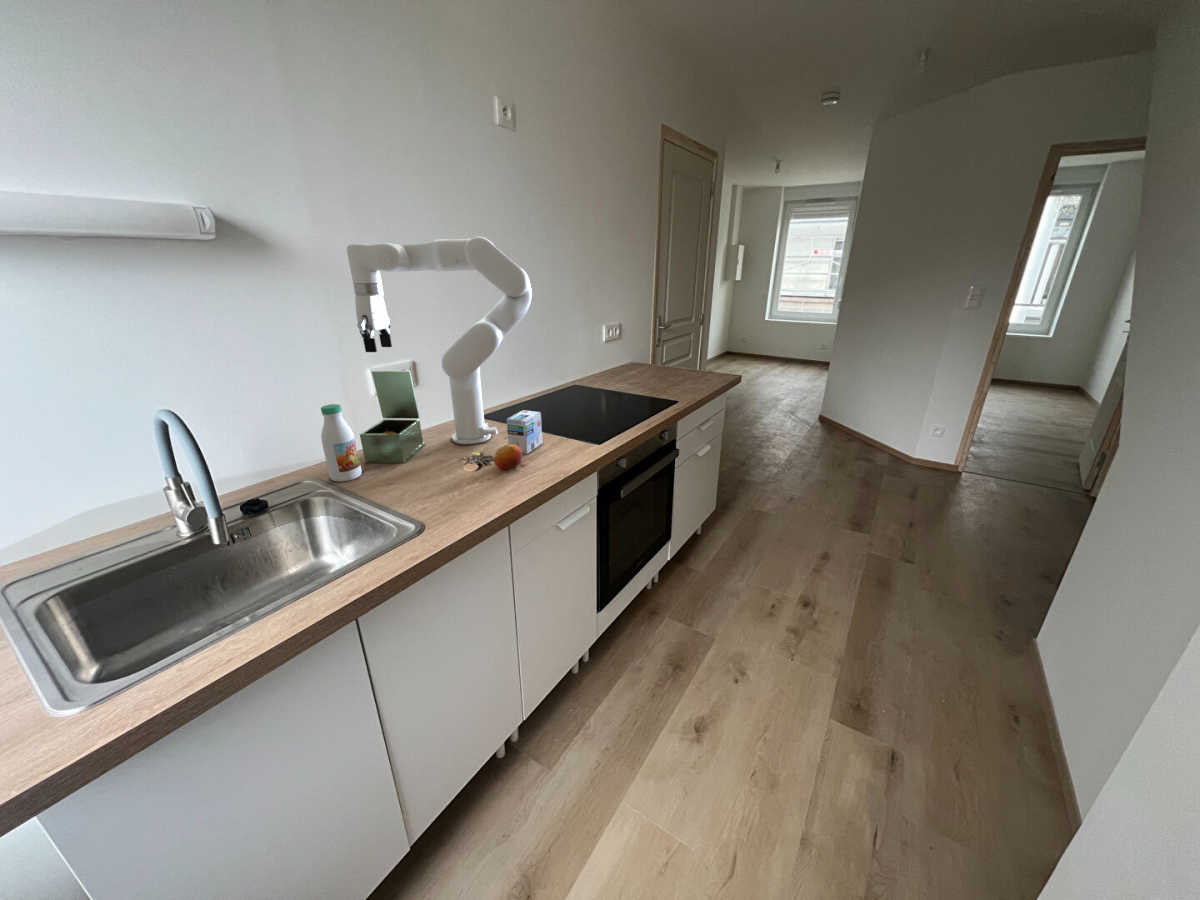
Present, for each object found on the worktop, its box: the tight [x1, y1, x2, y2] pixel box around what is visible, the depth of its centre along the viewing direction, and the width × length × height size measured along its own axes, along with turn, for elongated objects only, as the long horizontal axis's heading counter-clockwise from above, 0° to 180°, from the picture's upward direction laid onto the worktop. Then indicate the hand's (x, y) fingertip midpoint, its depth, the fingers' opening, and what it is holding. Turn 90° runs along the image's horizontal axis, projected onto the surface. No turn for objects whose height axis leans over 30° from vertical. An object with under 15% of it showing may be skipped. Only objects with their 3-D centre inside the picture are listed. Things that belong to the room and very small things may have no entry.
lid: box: [371, 370, 421, 420], centre depth 141 cm, size 15×12×5 cm
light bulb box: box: [506, 409, 543, 455], centre depth 142 cm, size 11×7×11 cm, turn 160°
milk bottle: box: [320, 403, 363, 482], centre depth 120 cm, size 8×8×20 cm
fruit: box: [493, 443, 524, 472], centre depth 128 cm, size 8×8×8 cm
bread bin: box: [359, 418, 424, 464], centre depth 138 cm, size 15×12×9 cm
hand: (379, 349), depth 138 cm, fingers open, 9 cm apart
